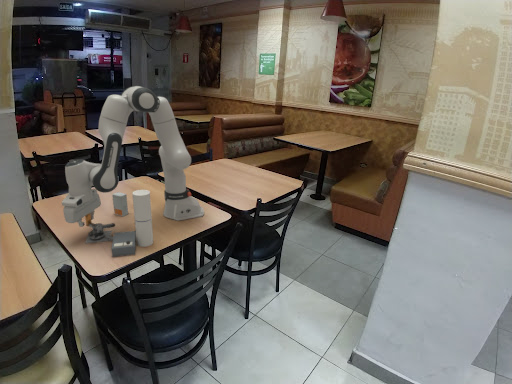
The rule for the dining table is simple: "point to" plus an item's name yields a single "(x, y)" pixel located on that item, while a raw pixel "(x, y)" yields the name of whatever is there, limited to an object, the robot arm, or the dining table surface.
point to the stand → (119, 242)
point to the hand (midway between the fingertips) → (86, 222)
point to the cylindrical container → (143, 217)
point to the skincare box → (120, 204)
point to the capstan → (96, 228)
